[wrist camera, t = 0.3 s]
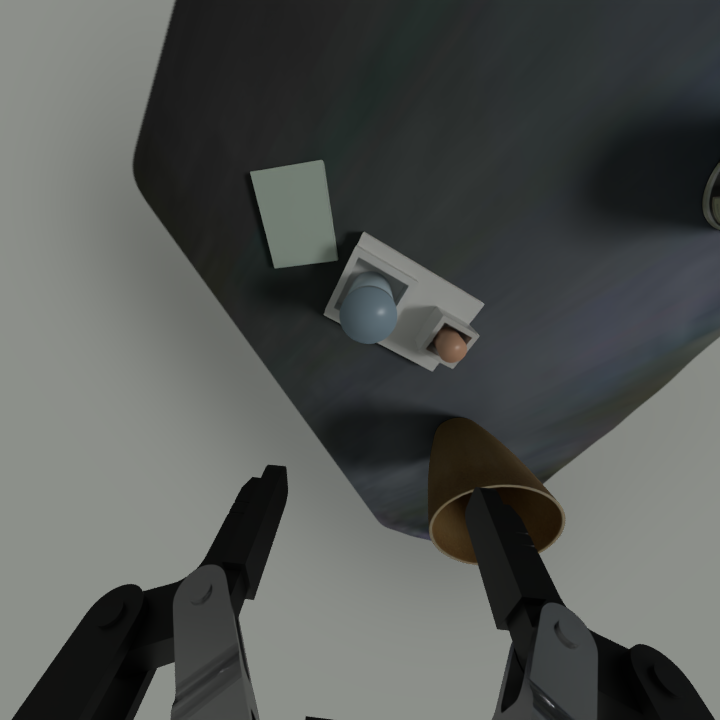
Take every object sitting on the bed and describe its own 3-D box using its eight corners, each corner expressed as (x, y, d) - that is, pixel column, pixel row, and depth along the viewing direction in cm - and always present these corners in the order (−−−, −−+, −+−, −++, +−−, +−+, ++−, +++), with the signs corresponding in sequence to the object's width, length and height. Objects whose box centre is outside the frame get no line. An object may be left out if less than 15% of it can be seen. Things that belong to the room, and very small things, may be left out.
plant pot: (502, 460, 46) (557, 563, 32) (417, 467, 48) (434, 568, 34) (506, 391, 40) (577, 481, 26) (408, 403, 42) (424, 493, 28)
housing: (364, 231, 31) (361, 232, 26) (479, 300, 34) (498, 313, 29) (326, 310, 36) (317, 325, 30) (429, 364, 39) (438, 386, 33)
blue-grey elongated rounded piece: (362, 262, 31) (355, 276, 22) (399, 283, 32) (408, 305, 23) (342, 300, 33) (330, 327, 24) (378, 319, 34) (379, 352, 25)
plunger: (442, 322, 31) (450, 333, 28) (463, 334, 31) (472, 346, 28) (428, 342, 32) (433, 355, 29) (448, 353, 33) (455, 367, 30)
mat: (253, 173, 29) (249, 172, 28) (323, 162, 28) (322, 159, 27) (277, 267, 34) (274, 268, 33) (338, 259, 33) (337, 260, 32)
